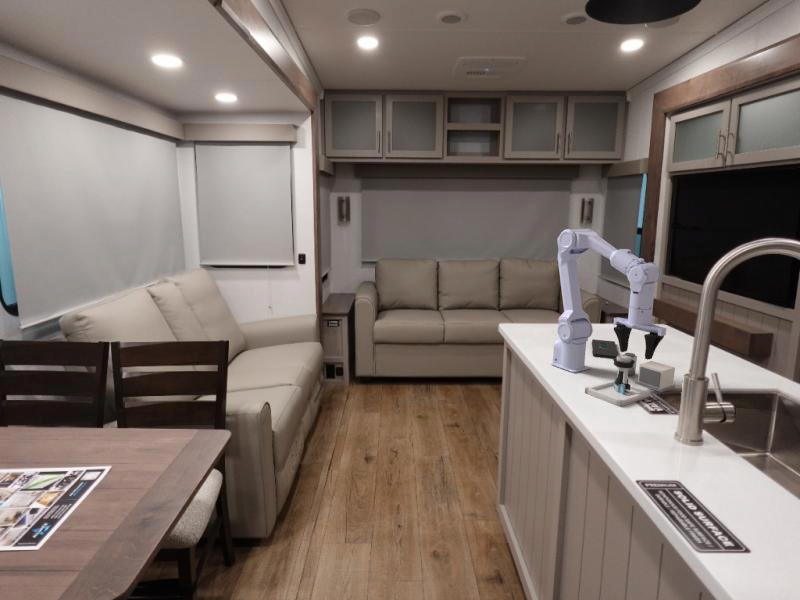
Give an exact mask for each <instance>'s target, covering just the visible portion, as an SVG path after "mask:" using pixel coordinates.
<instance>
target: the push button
mask: <svg viewBox="0 0 800 600" xmlns="http://www.w3.org/2000/svg"><path fill="white" fill-rule="evenodd" d="M612 361H613V366H615V367H616V368H617V375H616V378H615V379H613V380H614V389H615V391H618V392H619V393H621V394H627V395H630V394H629V392H631V391H630V385H631V384H629V379H628V369H630V368H632V367H633V364H634V363H635V361H634V360H632V359H631V357H630V356H627V355H623V354H618V356H617V358H614V359H612Z"/></svg>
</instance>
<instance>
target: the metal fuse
mask: <svg viewBox="0 0 800 600" xmlns="http://www.w3.org/2000/svg"><path fill="white" fill-rule="evenodd" d="M622 355H627V356H630V357H631V359H632V360H634V361H635V363H634V364H633V367H632V368H630V369H628V377H631V378H633V377H635V376H636V373H637V372H636V370H637V361H638V355H636V354H635V353H634V352H633V353H632V352H624V354H622ZM628 377H627V378H628Z"/></svg>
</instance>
